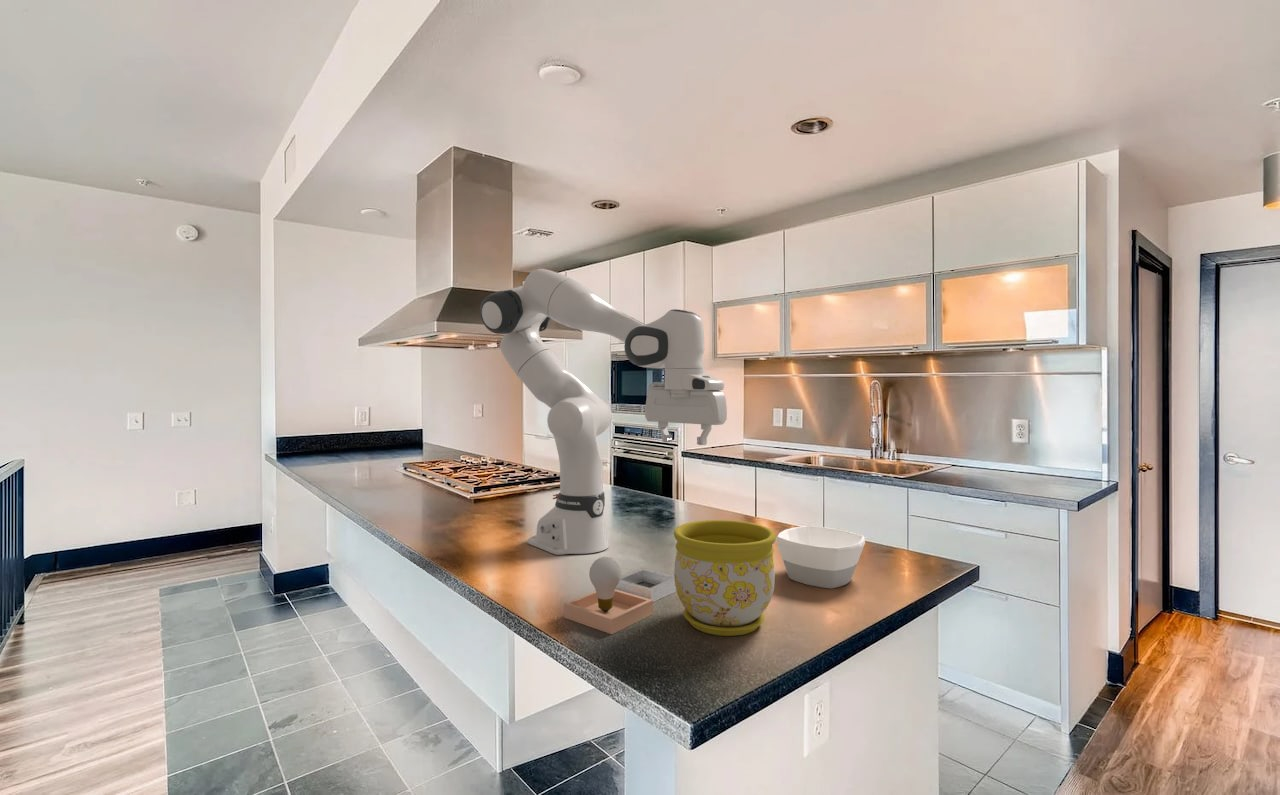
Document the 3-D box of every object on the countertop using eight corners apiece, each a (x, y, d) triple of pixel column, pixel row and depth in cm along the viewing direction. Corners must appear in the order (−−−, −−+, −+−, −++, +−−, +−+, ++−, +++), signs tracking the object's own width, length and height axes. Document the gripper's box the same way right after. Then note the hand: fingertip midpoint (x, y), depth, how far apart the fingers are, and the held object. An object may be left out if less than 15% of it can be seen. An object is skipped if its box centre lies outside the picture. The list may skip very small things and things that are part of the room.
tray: (563, 617, 110) (563, 603, 110) (606, 599, 119) (606, 586, 119) (611, 634, 103) (611, 619, 103) (653, 614, 112) (653, 600, 112)
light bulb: (606, 602, 116) (606, 551, 116) (627, 611, 112) (627, 557, 111) (582, 611, 112) (582, 557, 111) (604, 620, 107) (604, 564, 107)
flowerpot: (704, 651, 97) (705, 549, 96) (657, 611, 113) (657, 524, 113) (796, 632, 104) (797, 538, 103) (738, 598, 120) (739, 516, 120)
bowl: (763, 579, 132) (763, 536, 132) (802, 561, 145) (803, 522, 145) (841, 599, 120) (841, 552, 120) (876, 578, 133) (877, 535, 133)
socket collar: (610, 591, 124) (610, 579, 124) (642, 578, 132) (642, 567, 132) (650, 603, 117) (650, 591, 117) (681, 588, 125) (681, 577, 125)
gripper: (639, 381, 140) (639, 441, 140) (715, 382, 127) (715, 447, 127) (655, 382, 145) (655, 439, 145) (730, 382, 132) (730, 445, 132)
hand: (684, 443), depth 136 cm, fingers open, 8 cm apart
